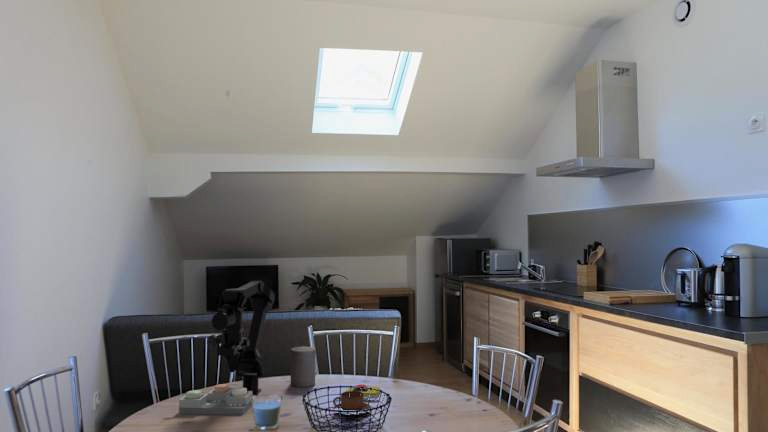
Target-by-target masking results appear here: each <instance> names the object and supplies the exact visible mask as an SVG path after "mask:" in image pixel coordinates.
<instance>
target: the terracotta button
mask: <svg viewBox="0 0 768 432" xmlns="http://www.w3.org/2000/svg"><path fill="white" fill-rule="evenodd" d="M229 388H230V385H229V384H225V383H222V384H221V383H219V384H216V385H214V388H213V389H214V393H227V392H228V391H229Z"/></svg>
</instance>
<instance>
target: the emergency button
mask: <svg viewBox="0 0 768 432" xmlns="http://www.w3.org/2000/svg"><path fill="white" fill-rule="evenodd" d="M355 386H357V387H370V388H372V391H371V398H375V399H377V398H378V397H379V395H380V394H381V387H380V386H369V385H366V384H356V385H355ZM373 389H378V390H380V392H378V391H375V390H373ZM348 391H350V388H349V387H348V388H347V389H346V390H345V392H348ZM351 391H358V392H361V389H360V388H351ZM362 393H363V400H366V401H365V402H374V401H373V400H370V401H368V398H369V395H370V389H364V388H363V389H362ZM364 397H368V398H364Z"/></svg>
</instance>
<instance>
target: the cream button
mask: <svg viewBox="0 0 768 432" xmlns="http://www.w3.org/2000/svg"><path fill="white" fill-rule="evenodd" d="M233 388H234V389H232V396H246V395H247V388H243V386H242V387H233Z"/></svg>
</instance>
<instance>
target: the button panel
mask: <svg viewBox="0 0 768 432" xmlns="http://www.w3.org/2000/svg"><path fill="white" fill-rule="evenodd" d="M234 388H235V387H229V391H228V392H227V393H214V388H213V389H211V390H210V391H209V392H207V393H202V397H201V398H200V399H186V395H184V396H182V397H181V398H180V399H179V400H178V414H179V415H181V414H183V415H237V416H238V415H239V416H241V415H244V414H245V413H246V412H247V411H248V410H249V409H250V408H251V407H252V406H253V405H252V401H251V398H252V397H253V396H256V397H257V395H253V391H247V395H246V396H232V389H234ZM251 405H252V406H251Z"/></svg>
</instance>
